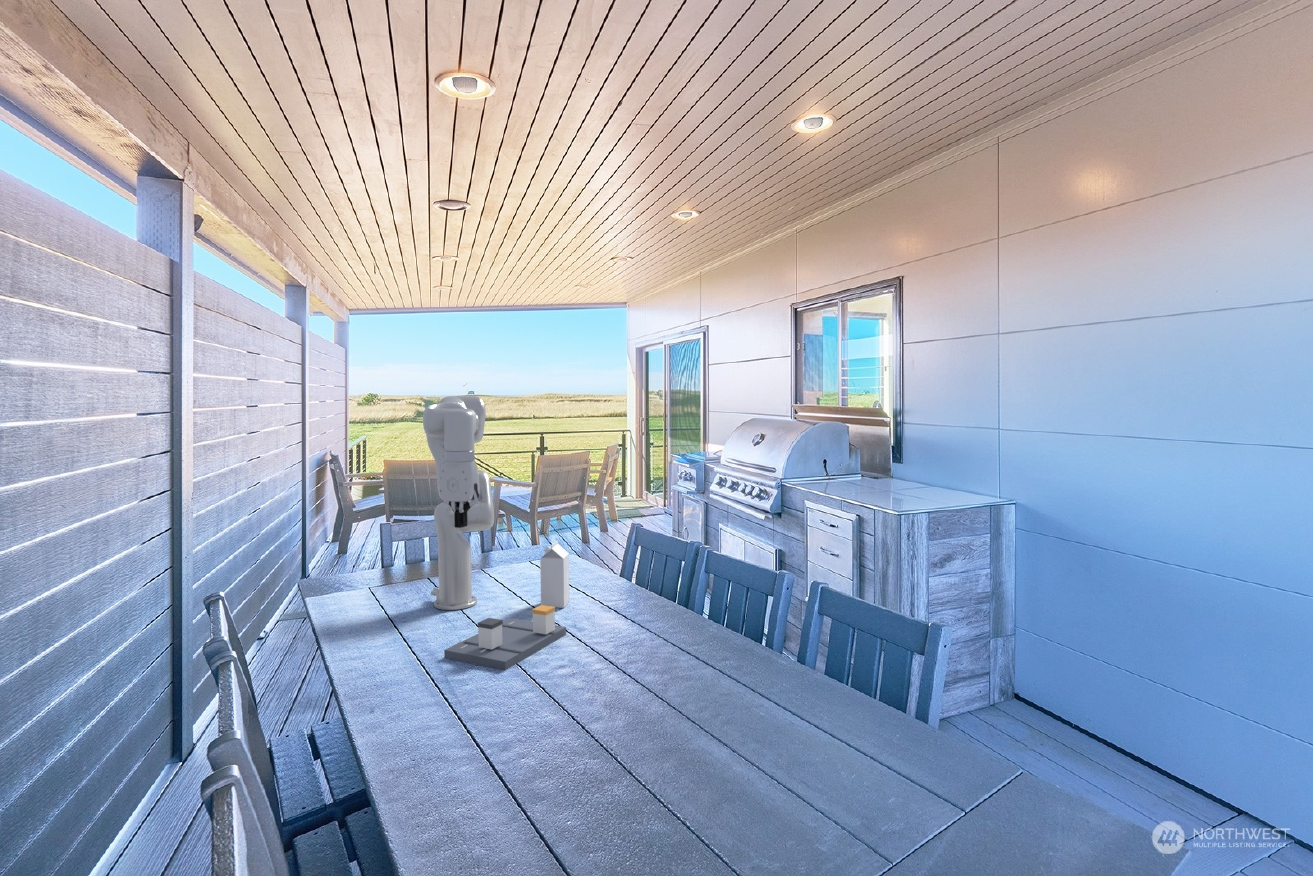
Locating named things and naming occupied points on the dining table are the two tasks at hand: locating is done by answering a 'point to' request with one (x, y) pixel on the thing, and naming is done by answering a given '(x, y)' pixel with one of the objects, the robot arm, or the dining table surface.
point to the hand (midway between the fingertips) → (461, 526)
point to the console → (505, 645)
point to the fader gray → (490, 633)
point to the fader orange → (543, 619)
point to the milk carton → (555, 576)
